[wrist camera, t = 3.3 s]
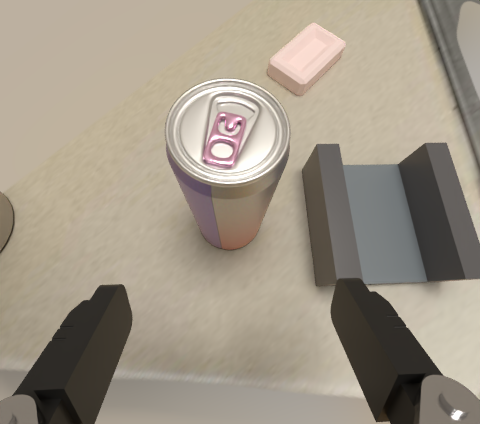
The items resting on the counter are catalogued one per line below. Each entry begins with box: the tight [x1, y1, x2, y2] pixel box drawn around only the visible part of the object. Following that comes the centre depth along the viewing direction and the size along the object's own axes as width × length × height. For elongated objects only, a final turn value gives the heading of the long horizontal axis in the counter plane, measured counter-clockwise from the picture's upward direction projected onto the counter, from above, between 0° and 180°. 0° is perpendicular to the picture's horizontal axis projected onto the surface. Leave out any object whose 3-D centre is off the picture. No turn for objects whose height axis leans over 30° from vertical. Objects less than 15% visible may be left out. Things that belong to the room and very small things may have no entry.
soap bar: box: [268, 23, 346, 95], centre depth 31 cm, size 5×9×2 cm, turn 139°
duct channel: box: [302, 143, 480, 286], centre depth 24 cm, size 12×12×5 cm
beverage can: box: [165, 78, 291, 250], centre depth 18 cm, size 6×6×15 cm
